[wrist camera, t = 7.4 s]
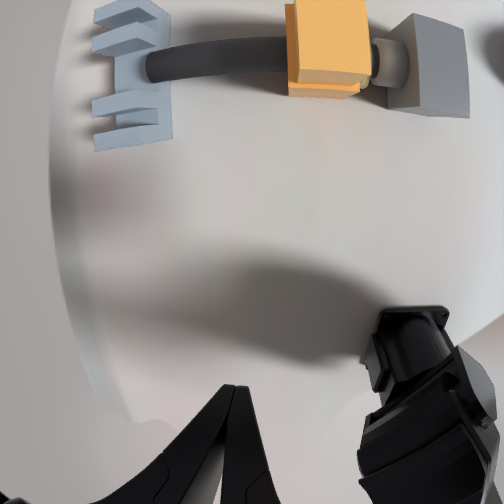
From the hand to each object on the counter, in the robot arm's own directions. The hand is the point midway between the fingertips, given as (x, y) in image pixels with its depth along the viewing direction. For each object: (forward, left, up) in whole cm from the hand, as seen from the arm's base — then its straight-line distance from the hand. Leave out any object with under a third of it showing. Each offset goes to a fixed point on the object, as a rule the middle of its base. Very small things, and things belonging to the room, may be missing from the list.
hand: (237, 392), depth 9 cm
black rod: (-1, -12, -10) cm, 16 cm away
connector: (-9, -12, -12) cm, 19 cm away
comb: (+8, -12, -12) cm, 19 cm away
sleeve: (-3, -12, -12) cm, 17 cm away
